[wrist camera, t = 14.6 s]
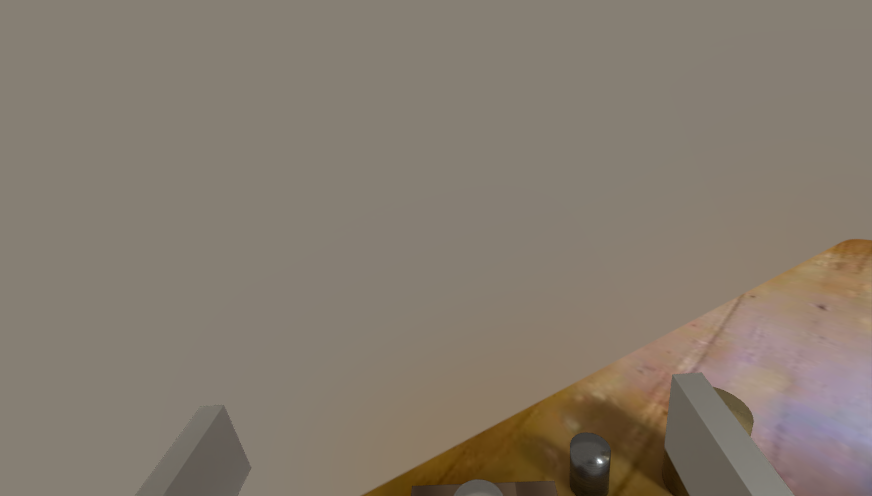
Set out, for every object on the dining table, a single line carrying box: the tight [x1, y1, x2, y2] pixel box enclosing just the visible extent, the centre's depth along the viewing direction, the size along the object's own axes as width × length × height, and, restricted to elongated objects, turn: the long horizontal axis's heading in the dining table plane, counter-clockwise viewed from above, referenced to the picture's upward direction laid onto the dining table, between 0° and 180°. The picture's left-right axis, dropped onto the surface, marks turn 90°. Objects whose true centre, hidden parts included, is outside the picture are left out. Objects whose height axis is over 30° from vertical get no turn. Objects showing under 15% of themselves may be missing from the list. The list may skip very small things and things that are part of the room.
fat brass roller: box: [662, 387, 754, 496], centre depth 39 cm, size 6×6×9 cm
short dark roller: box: [570, 433, 611, 496], centre depth 41 cm, size 4×4×5 cm
